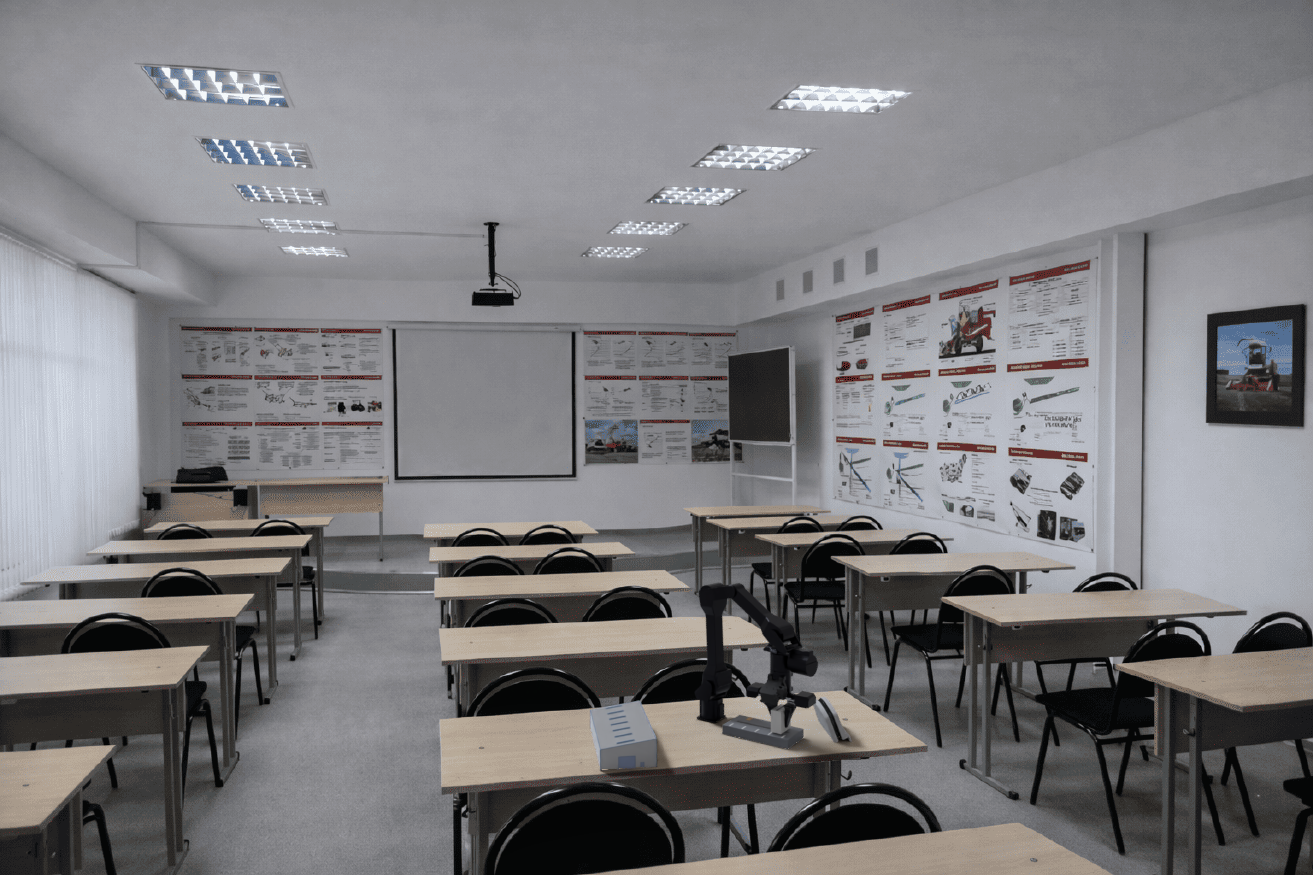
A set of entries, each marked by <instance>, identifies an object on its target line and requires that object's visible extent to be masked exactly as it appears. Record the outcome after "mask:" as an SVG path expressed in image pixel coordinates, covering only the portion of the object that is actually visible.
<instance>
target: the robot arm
mask: <svg viewBox="0 0 1313 875" xmlns="http://www.w3.org/2000/svg"><path fill="white" fill-rule="evenodd" d="M729 599H731V600H732V601H733V602H734V603H735V604H736V605H738V607H739V608H740V609H741V610H742V611H743V612H744V613H745V614H746V615H747V616H748V617H750V619H751V620H753V621H754V622H755V623H756V624H757V626H758V627H759V629H760V632H761V635H762V636H763V637H764V639H765V640H766V641H767V643H768V644H767V645H765V647H764V648H762V650H763V651H764V652H769V672H768V674H767V677H766V678H767V680H766V682H765V683H762V682H757V681H756V682H753V683H751V684H750V685H748V686H747V687H746V689H745V692H746V693H745V696H746V697H747V698H753V699H756V698H757V697H759V696H760V699H759V702H761V703H762V704H764V705H765V706H766V708H767V711H768V714H769V716H770V717H771V710H772V709H773V708H775V707H777V706H778V705H779V701H780V700H781V701H782V700H783V701H785V700H786V703H785V704H783V706H784V708H785V722H784V723H785V728H787V727H788V725H789V723H790V720H791V721H792V718H793V715H794V713H795V710H797V708H802V709H810V708H811V707H812V706H813V705H814V704H816V699H817V696H816V695H815V693H814V692H810V691H803V690H801V691H800V692H799V693H793V692H792V691H794V686H792V677H793V676H794V674H797V675H800V676H805V677H808V678H809V677H811V678H812V677H814V676H815V675H816V673H817V671H818V666H819V662H818V660H817V659H818V658H817V657H816V655H814V650H812V649H806V648H805V649H804V648H803V645H802V643H801V641H800V639H799V638H798V635H797V634H796V632H795V628H794V626H793V624H791V623H790V622H789V621H787V620H786V619H785V618H782V617H780V616H778V615H776V614H773V613H772V612H771V611H769V610H768V609H767V607H765V605H763V604H762V602H760V601H759V600H758V599H757V598H756V597H755V596H754V595H753V594H751V593H750V591H748V590H747V589H746V588H745V585H744V584H742V583H740V582H737V583H733V584H732V583H731V584H725V585H724V584H723V583H722V582H713V583H710V584H705V585H702V586H701V587H700V588H699V591H698V600H699V605H700V608H701V610H702V611H703V613H704V614H705V637H706V659H707V660H706V661H707V663H706V665H705V668H704V670H703V673H702V681H701V685H699V687H697V688H696V689H695V691H694V695H695V696H694V697H695V698H696V700H699V715H698V716H696V719H697V720H700V721H705V722H709V723H713V724H714V723H715V724H716V723H718V722H720V721H722V720H723V719H725V718H726V717H727V716H726V714H725V703H724V697H726V696H727V694H728V691H729V690H730V688H731V686H732V684H733V683H734V682H733V678H732V675H733V671H732V669H731V668H728V667H727V665H726V663H725V655H724V654H725V651H724V650H725V649H724V627H723V626H724V624H723V623H724V622H723V615H724V614H723V613H724V611H725V608H726V607H727V604H728V600H729ZM789 643H790V644H789ZM813 707H814V706H813Z"/></svg>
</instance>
